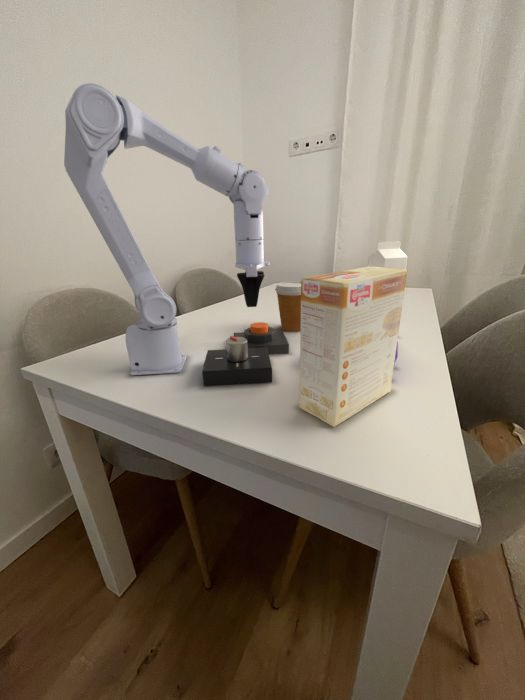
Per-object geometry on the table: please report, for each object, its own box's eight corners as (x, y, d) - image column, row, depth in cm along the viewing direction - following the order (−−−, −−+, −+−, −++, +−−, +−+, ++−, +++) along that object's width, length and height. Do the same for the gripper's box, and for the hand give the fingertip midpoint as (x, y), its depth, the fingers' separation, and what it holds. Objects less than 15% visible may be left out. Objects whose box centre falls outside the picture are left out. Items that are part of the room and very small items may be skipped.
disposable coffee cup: (304, 335, 77) (305, 288, 72) (270, 331, 81) (269, 286, 76) (314, 325, 85) (316, 281, 80) (283, 321, 89) (283, 280, 84)
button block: (233, 356, 65) (232, 339, 64) (234, 341, 74) (233, 325, 73) (288, 353, 66) (288, 336, 64) (282, 338, 75) (282, 323, 74)
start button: (250, 335, 67) (250, 327, 66) (250, 329, 70) (249, 322, 70) (268, 334, 67) (268, 327, 66) (267, 329, 71) (267, 321, 70)
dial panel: (203, 386, 53) (202, 370, 52) (209, 363, 62) (207, 349, 61) (272, 382, 53) (272, 366, 52) (267, 360, 63) (266, 346, 62)
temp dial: (252, 358, 56) (251, 339, 55) (233, 364, 54) (231, 344, 53) (241, 352, 59) (240, 333, 58) (222, 357, 57) (221, 338, 56)
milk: (396, 337, 74) (411, 241, 65) (374, 340, 72) (387, 242, 64) (380, 330, 79) (392, 240, 71) (360, 332, 78) (370, 241, 69)
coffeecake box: (355, 377, 55) (365, 265, 47) (392, 391, 49) (410, 269, 42) (296, 407, 46) (298, 276, 39) (334, 429, 41) (345, 282, 33)
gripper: (272, 240, 54) (273, 313, 59) (266, 238, 68) (267, 298, 73) (233, 241, 54) (237, 315, 59) (234, 239, 67) (237, 299, 72)
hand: (251, 306), depth 66 cm, fingers closed
